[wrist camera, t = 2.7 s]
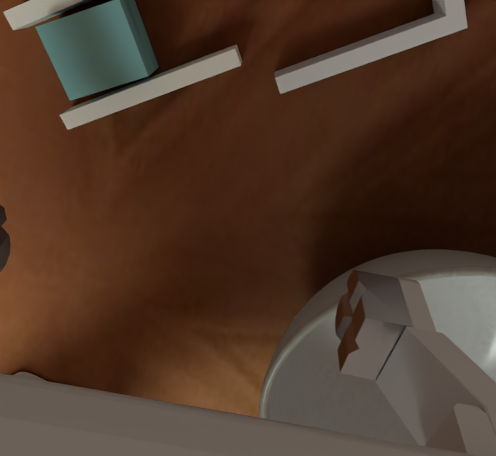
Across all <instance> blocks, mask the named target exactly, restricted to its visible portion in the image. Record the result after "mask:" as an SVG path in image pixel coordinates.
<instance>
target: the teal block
mask: <svg viewBox="0 0 496 456" xmlns="http://www.w3.org/2000/svg"><path fill="white" fill-rule="evenodd" d="M35 28H36V30H37V32H38V34H39V36H40V38H41V40H42V42H43V45H44V47H45V49H46V51H47V53H48V55H49V57H50V59H51V62H52V64H53V66H54V68H55V70H56V72H57V74H58V76H59V79H60V81H61V83H62V85H63V87H64V89H65V91H66V94H67V96H68V98H69V100H70V101H71V100H74V99H77V98H81V97H84V96H87V95H90V94H93V93H97V92H100V91H103V90H106V89H109V88H113V87H116V86H119V85H122V84H125V83H129V82H132V81H135V80H138V79H141V78H145V77H148V76H149V75H151V74H152V73H153V72H154V71H155V70H156V69H157V68H158V67H159V66H158V63H157V60H156V57H155V55H154V52H153V49H152V46H151V44H150V41H149V38H148V36H147V33H146V30H145V27H144V25H143V22H142V19H141V16H140V14H139V11H138V8H137V6H136V3H135V0H113V1H110V2H107V3H104V4H101V5H98V6H95V7H92V8H89V9H87V10H84V11H81V12H78V13H75V14H72V15H69V16H66V17H63V18H60V19H57V20H54V21H52V22H49V23H46V24H43V25H40V26H37V27H35Z"/></svg>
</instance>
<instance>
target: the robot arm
mask: <svg viewBox="0 0 496 456" xmlns="http://www.w3.org/2000/svg"><path fill="white" fill-rule="evenodd" d="M6 220H7V219H6V214H5V209H4V207H3V206H1V205H0V272H1V270H2V269H3V268H4V266H5V265H6V262H7V260H8V257H9V254H10V245H11V244H10V237H9V234H8V233H7V232H6V231H5V230H4V229H3V228H2V227H1V226H2V225H3V224H4V222H5V221H6ZM347 288H348V292H347V293H346V294H344V295H342V296H341V298H340V301H339V304H338V306H337V312H336V317H335V331H336V335H337V337H338V338H339V339H340V340H341V342H340V345H339V347H338V349H337V351H338V360H339V368H340V373H342V374H347V375H352V376H357V377H362V378H367V379H371V380H376V383H377V385H378V386H379V388H380V389H381V391H382V392H383V393H384V395H385V396H386V398H387V399H388V401H389V402H390V404H391V405H392V407H393V408H394V410H395V411H396V412H397V414H398V415H399V417H400V418H401V420H402V421H403V423H404V424H405V426H406V427H407V429H408V430H409V431H410V433H411V434H412V436H413V437H414V439H415V440H416V442H417V443H418V445H415V444H409V443H404V442H398V441H392V440H386V439H380V438H375V437H369V436H363V435H357V434H351V433H345V432H340V431H334V430H328V429H322V428H316V427H311V426H305V425H299V424H293V423H287V422H281V421H276V420H270V419H264V418H258V417H252V416H247V415H241V414H235V413H229V412H223V411H217V410H212V409H206V408H200V407H194V406H188V405H183V404H177V403H171V402H165V401H159V400H153V399H148V398H142V397H136V396H130V395H124V394H119V393H113V392H107V391H101V390H95V389H89V388H84V387H78V386H72V385H66V384H60V383H55V382H49V381H46V380H44V379H42V378H40V377H38V376H36V375H33V374H31V373H28V372H18V373H16V374H14V375H8V374H2V373H0V456H496V382H495V381H494V380H493V379H492V378H491V377H490V376H488V375H487V374H486V373H485V372H484V371H483V370H482V369H481V368H480V367H479V366H478V365H477V364H476V363H475V362H473V361H472V360H471V359H470V358H469V357H468V356H467V355H466V354H465V353H464V352H463V351H462V350H461V349H460V348H458V347H457V346H456V345H455V344H454V343H453V342H452V341H451V340H450V339H449V338H448V337H447V336H446V335H445V334H443V333H440V332H437V331H436V328H435V326H434V323H433V320H432V317H431V314H430V311H429V308H428V306H427V303H426V300H425V297H424V294H423V291H422V289H421V286H420V283H419V282H418V281H417V280H412V279H406V278H400V277H390V276H384V275H379V274H373V273H368V272H362V271H357V270H353V271H352V273H351V274H350V276H349V278H348V281H347Z"/></svg>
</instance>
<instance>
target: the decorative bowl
mask: <svg viewBox="0 0 496 456" xmlns="http://www.w3.org/2000/svg"><path fill="white" fill-rule="evenodd" d="M353 270H357V271H362V272H368V273H373V274H379V275H384V276H390V277H400V278H406V279H412V280H417V281H418V282H419V283H420V286H421V289H422V291H423V294H424V297H425V300H426V303H427V306H428V308H429V311H430V314H431V317H432V320H433V323H434V326H435V328H436V331H437V332H440V333H443V334H445V335H446V336H447V337H448V338H449V339H450V340H451V341H452V342H453V343H454V344H455V345H456V346H457V347H458V348H460V349H461V350H462V351H463V352H464V353H465V354H466V355H467V356H468V357H469V358H470V359H471V360H472V361H473V362H475V363H476V364H477V365H478V366H479V367H480V368H481V369H482V370H483V371H484V372H485V373H486V374H487V375H488V376H490V377H491V378H492V379H493V380H494V381H495V382H496V258H495V257H492V256H487V255H483V254H478V253H473V252H466V251H458V250H445V249H426V250H413V251H406V252H400V253H395V254H390V255H387V256H383V257H379V258H376V259H373V260H371V261H368V262H366V263H363V264H361V265H359V266H356V267H354V268H352V269H350V270H349V271H347V272H345V273H343V274H342V275H340V276H338V277H337V278H335V279H334V280H332V281H331V282H330V283H328V284H327V285H326V286H324V287H323V288H322V289H321V290H320V291H319V292H317V293H316V294H315V295H314V296H313V297H312V298H311V299H310V300H309V301H308V302H307V303H306V304H305V305H304V306H303V308H302V309H301V310H300V311H299V313H298V314H297V315H296V316H295V318H294V319H293V321H292V322H291V323H290V325H289V326H288V328H287V329H286V331H285V333H284V335H283V336H282V338H281V340H280V342H279V344H278V345H277V348H276V350H275V352H274V354H273V357H272V359H271V361H270V364H269V366H268V369H267V372H266V375H265V378H264V382H263V386H262V391H261V396H260V404H259V418H264V419H270V420H276V421H281V422H287V423H293V424H299V425H305V426H311V427H316V428H322V429H328V430H334V431H340V432H345V433H351V434H357V435H363V436H369V437H375V438H380V439H386V440H392V441H398V442H404V443H409V444H415V445H418V443H417V442H416V440H415V439H414V437H413V436H412V434H411V433H410V431H409V430H408V429H407V427H406V426H405V424H404V423H403V421H402V420H401V418H400V417H399V415H398V414H397V412H396V411H395V410H394V408H393V407H392V405H391V404H390V402H389V401H388V399H387V398H386V396H385V395H384V393H383V392H382V391H381V389H380V388H379V386H378V385H377V383H376V380H371V379H367V378H362V377H357V376H352V375H347V374H342V373H340V368H339V360H338V351H337V349H338V347H339V345H340V342H341V340H340V339H339V338H338V337H337V335H336V331H335V317H336V312H337V306H338V304H339V301H340V298H341V296H342V295H344V294H346V293H347V292H348V288H347V281H348V278H349V276H350V274H351V273H352V271H353Z"/></svg>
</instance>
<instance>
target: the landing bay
mask: <svg viewBox="0 0 496 456" xmlns="http://www.w3.org/2000/svg"><path fill="white" fill-rule="evenodd" d="M432 3H433V9H434V14H432V15H429V16H426V17H423V18H421V19H418V20H415V21H412V22H410V23H407V24H404V25H401V26H399V27H396V28H393V29H390V30H388V31H385V32H382V33H380V34H377V35H374V36H371V37H369V38H366V39H363V40H360V41H358V42H355V43H352V44H349V45H347V46H344V47H341V48H338V49H336V50H333V51H330V52H327V53H325V54H322V55H319V56H316V57H314V58H311V59H308V60H305V61H303V62H300V63H297V64H294V65H292V66H289V67H286V68H283V69H281V70H278V71H275V72H274V74H275V79H276V82H277V85H278V89H279V92H280V94H282V93H285V92H288V91H291V90H293V89H296V88H299V87H302V86H305V85H308V84H310V83H313V82H316V81H319V80H322V79H324V78H327V77H330V76H333V75H336V74H339V73H341V72H344V71H347V70H350V69H353V68H356V67H358V66H361V65H364V64H367V63H370V62H372V61H375V60H378V59H381V58H384V57H387V56H389V55H392V54H395V53H398V52H401V51H404V50H406V49H409V48H412V47H415V46H418V45H420V44H423V43H426V42H429V41H432V40H435V39H437V38H440V37H443V36H446V35H449V34H452V33H454V32H457V31H460V30H463V29H466V28H467V20H466V12H465V4H464V0H432Z"/></svg>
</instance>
